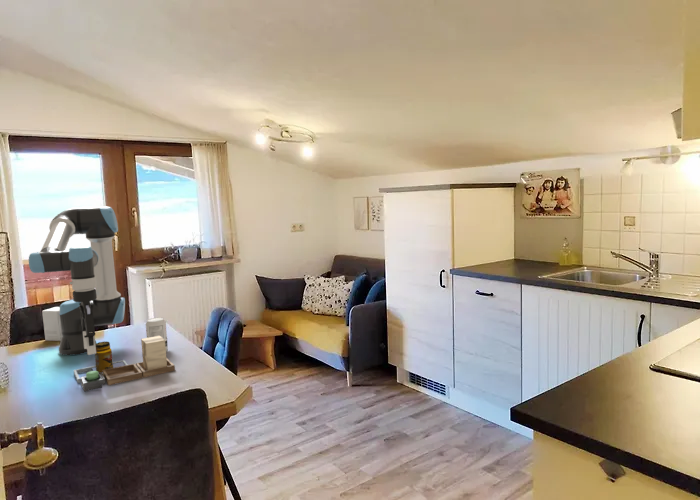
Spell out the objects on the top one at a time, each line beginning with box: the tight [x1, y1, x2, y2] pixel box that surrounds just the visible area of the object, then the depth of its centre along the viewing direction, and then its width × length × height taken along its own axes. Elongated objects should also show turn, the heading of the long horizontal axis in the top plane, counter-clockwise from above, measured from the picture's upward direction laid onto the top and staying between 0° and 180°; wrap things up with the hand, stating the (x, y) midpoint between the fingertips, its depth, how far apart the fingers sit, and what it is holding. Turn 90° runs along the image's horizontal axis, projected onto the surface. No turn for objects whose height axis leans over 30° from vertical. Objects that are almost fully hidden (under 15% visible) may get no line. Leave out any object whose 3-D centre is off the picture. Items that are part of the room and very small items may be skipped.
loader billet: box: [140, 336, 168, 371], centre depth 197 cm, size 8×7×12 cm
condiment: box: [94, 341, 114, 373], centre depth 199 cm, size 7×8×12 cm
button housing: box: [80, 372, 106, 392], centre depth 186 cm, size 8×7×3 cm
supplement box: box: [41, 306, 62, 342], centre depth 250 cm, size 9×9×15 cm
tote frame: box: [73, 359, 129, 384], centre depth 199 cm, size 13×19×2 cm
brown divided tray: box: [102, 357, 176, 386], centre depth 195 cm, size 13×24×3 cm, turn 125°
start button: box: [85, 370, 99, 380], centre depth 185 cm, size 4×4×2 cm
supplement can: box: [145, 317, 169, 353], centre depth 221 cm, size 8×8×15 cm
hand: (90, 350), depth 184 cm, fingers open, 8 cm apart
